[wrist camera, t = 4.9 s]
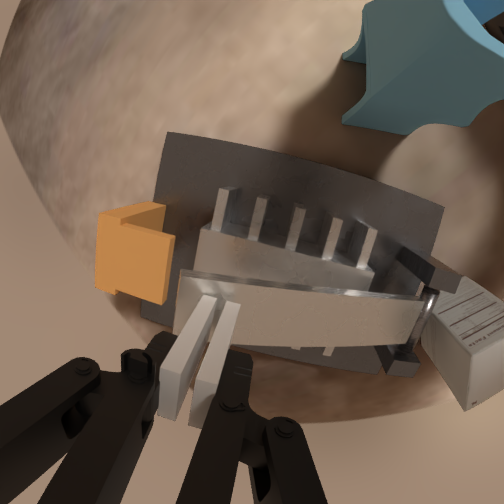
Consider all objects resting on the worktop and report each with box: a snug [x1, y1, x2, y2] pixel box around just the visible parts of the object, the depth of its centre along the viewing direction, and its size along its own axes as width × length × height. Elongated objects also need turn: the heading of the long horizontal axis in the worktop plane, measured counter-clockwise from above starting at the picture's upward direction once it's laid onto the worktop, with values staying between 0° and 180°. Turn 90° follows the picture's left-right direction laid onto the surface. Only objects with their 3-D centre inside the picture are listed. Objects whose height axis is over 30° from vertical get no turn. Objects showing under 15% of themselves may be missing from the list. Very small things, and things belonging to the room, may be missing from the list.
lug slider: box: [95, 201, 176, 305], centre depth 23 cm, size 6×6×8 cm
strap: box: [172, 269, 440, 354], centre depth 18 cm, size 6×20×2 cm, turn 77°
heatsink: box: [141, 132, 462, 378], centre depth 24 cm, size 20×28×8 cm
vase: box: [342, 0, 504, 135], centre depth 13 cm, size 8×8×20 cm
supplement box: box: [418, 276, 504, 411], centre depth 22 cm, size 7×7×13 cm
